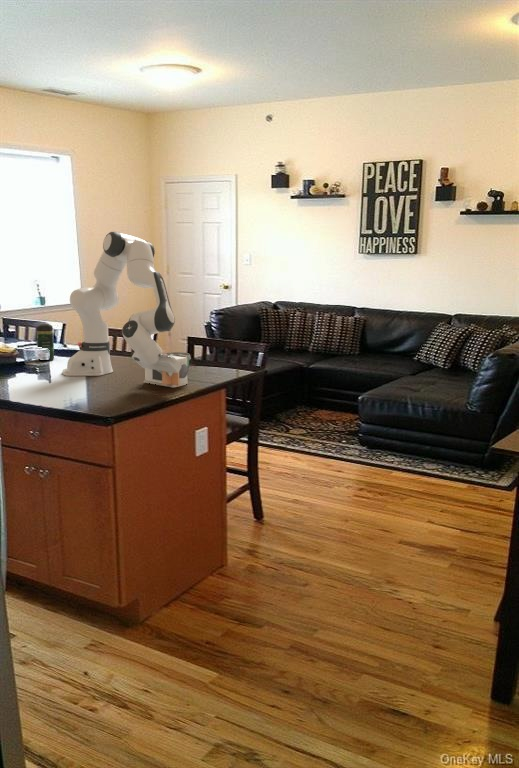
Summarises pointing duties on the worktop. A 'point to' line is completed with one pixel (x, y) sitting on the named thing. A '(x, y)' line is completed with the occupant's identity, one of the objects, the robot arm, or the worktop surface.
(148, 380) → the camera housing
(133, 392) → the worktop surface
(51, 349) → the coffee jar
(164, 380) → the side door
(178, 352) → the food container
